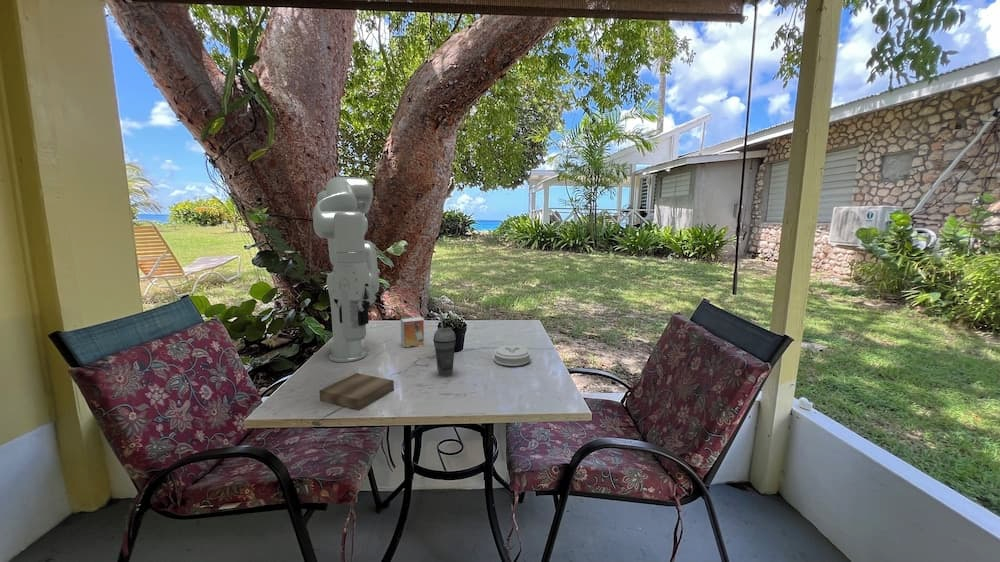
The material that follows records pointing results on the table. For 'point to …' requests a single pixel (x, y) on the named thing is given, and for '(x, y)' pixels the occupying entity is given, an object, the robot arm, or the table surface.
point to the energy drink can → (351, 320)
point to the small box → (412, 332)
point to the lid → (512, 355)
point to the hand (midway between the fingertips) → (354, 322)
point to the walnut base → (357, 391)
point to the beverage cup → (444, 349)
